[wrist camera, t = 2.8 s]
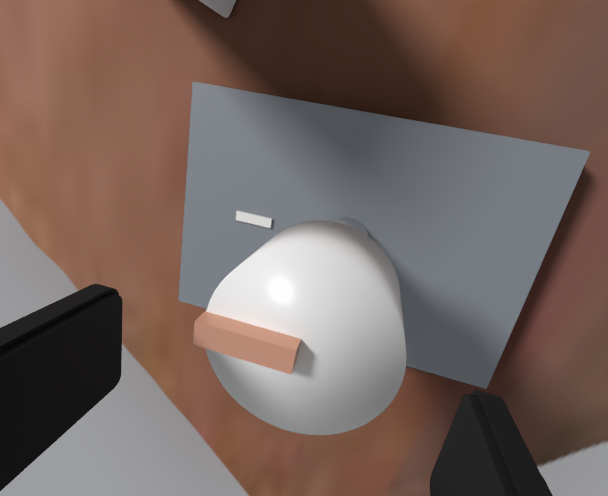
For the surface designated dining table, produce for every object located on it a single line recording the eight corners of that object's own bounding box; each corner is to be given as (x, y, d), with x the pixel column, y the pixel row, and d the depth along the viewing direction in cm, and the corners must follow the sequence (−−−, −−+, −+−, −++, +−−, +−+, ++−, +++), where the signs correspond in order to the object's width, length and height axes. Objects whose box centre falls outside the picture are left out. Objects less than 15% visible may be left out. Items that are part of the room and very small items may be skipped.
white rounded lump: (419, 241, 12) (438, 293, 8) (378, 377, 14) (375, 478, 10) (261, 205, 13) (202, 234, 9) (243, 337, 15) (187, 413, 11)
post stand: (570, 150, 19) (749, 156, 10) (478, 369, 24) (538, 514, 15) (208, 86, 22) (83, 45, 13) (192, 289, 27) (92, 365, 18)
